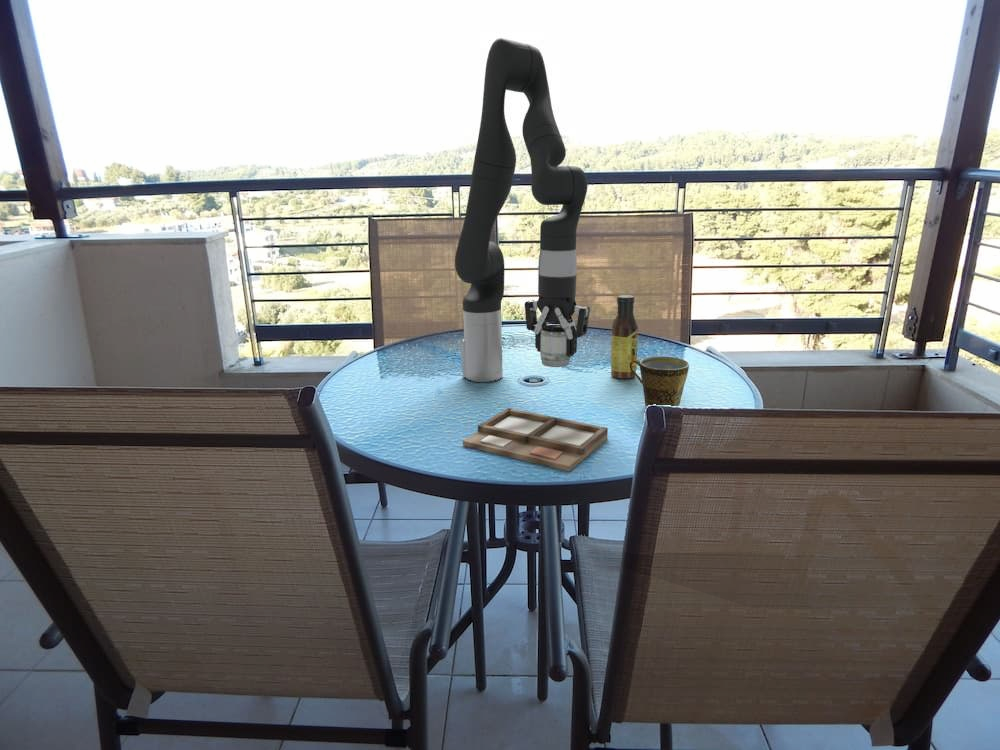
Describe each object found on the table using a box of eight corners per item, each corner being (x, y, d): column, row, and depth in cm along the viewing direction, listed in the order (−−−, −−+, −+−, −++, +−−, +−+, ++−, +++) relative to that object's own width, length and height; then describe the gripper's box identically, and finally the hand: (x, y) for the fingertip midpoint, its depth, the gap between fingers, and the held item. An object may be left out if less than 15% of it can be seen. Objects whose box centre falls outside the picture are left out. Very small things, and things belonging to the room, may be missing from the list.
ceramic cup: (694, 406, 133) (697, 361, 130) (672, 420, 126) (675, 372, 123) (640, 394, 141) (642, 351, 138) (616, 406, 134) (618, 361, 131)
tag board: (463, 445, 116) (462, 434, 116) (508, 418, 129) (507, 408, 128) (569, 471, 105) (569, 459, 104) (607, 438, 118) (607, 427, 117)
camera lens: (575, 365, 128) (577, 328, 125) (547, 369, 126) (548, 331, 123) (562, 357, 133) (563, 321, 131) (535, 361, 131) (535, 324, 129)
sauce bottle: (636, 380, 151) (639, 299, 145) (610, 379, 152) (612, 298, 146) (636, 372, 157) (639, 294, 151) (611, 371, 158) (613, 293, 152)
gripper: (598, 272, 123) (595, 354, 128) (535, 267, 130) (534, 344, 136) (581, 278, 117) (578, 363, 122) (516, 271, 124) (516, 352, 130)
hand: (555, 353), depth 129 cm, fingers closed on camera lens, 6 cm apart
